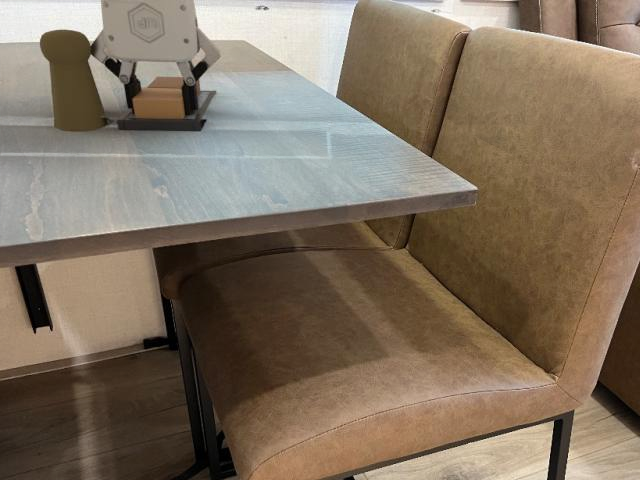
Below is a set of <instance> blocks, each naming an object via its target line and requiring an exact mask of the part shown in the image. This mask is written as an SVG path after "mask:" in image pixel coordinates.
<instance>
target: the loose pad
mask: <svg viewBox="0 0 640 480" xmlns="http://www.w3.org/2000/svg"><path fill="white" fill-rule="evenodd" d="M132 100H133V106H134V113H135V115H134V118H141V119H185V116H186V115H185V110H184V102H183V97H182V90H181V89H175V88H147V87H143V88H141V91H140V92H139V93H138V94H137V95H136V96H135V97H134V98H133V99H132Z"/></svg>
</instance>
